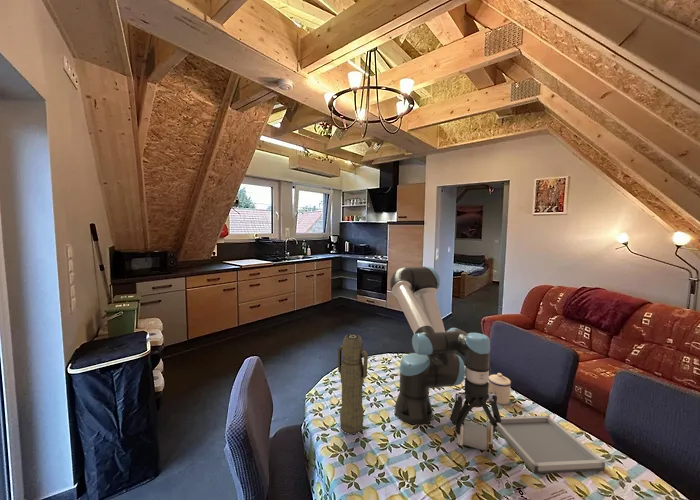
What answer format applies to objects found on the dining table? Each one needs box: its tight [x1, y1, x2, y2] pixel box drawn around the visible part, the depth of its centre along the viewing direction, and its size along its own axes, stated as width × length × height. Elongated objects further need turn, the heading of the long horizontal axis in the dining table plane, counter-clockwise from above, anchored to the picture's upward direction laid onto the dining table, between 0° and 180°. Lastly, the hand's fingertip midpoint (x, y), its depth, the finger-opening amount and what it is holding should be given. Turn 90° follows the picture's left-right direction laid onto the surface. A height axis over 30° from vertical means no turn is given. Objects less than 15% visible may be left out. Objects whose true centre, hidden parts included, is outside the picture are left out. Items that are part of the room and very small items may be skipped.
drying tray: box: [495, 415, 606, 475], centre depth 99 cm, size 23×23×2 cm
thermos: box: [337, 333, 369, 435], centre depth 107 cm, size 9×12×35 cm
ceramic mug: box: [462, 419, 490, 451], centre depth 100 cm, size 11×8×8 cm
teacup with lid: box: [488, 372, 512, 405], centre depth 127 cm, size 12×9×12 cm
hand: (474, 441), depth 98 cm, fingers closed on ceramic mug, 10 cm apart
